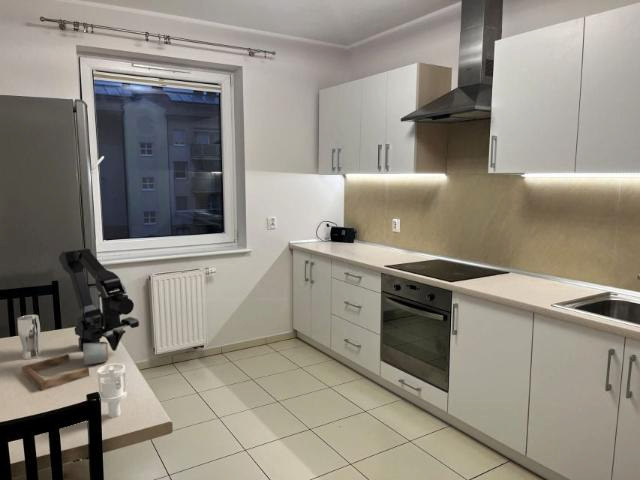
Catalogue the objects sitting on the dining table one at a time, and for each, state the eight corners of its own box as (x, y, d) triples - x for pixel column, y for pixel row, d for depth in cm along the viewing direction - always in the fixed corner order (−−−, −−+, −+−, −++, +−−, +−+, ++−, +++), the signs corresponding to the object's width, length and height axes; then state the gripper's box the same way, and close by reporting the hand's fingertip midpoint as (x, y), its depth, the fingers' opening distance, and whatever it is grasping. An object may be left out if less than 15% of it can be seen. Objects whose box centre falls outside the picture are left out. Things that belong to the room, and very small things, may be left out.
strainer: (101, 423, 128) (97, 371, 126) (100, 411, 135) (96, 362, 132) (128, 417, 131) (125, 367, 129) (127, 406, 137) (123, 357, 135)
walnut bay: (68, 360, 171) (67, 353, 170) (89, 375, 158) (88, 368, 158) (22, 373, 160) (22, 366, 160) (41, 390, 147) (41, 383, 147)
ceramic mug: (109, 363, 167) (108, 343, 166) (84, 368, 163) (82, 347, 162) (107, 354, 176) (105, 334, 175) (83, 358, 173) (81, 338, 172)
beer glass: (20, 361, 170) (15, 321, 168) (21, 354, 176) (17, 316, 174) (42, 357, 173) (38, 318, 171) (43, 351, 179) (39, 313, 177)
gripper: (121, 300, 183) (124, 338, 185) (73, 312, 168) (77, 354, 170) (138, 304, 176) (141, 344, 179) (90, 318, 161) (94, 361, 164)
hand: (114, 350), depth 173 cm, fingers closed
